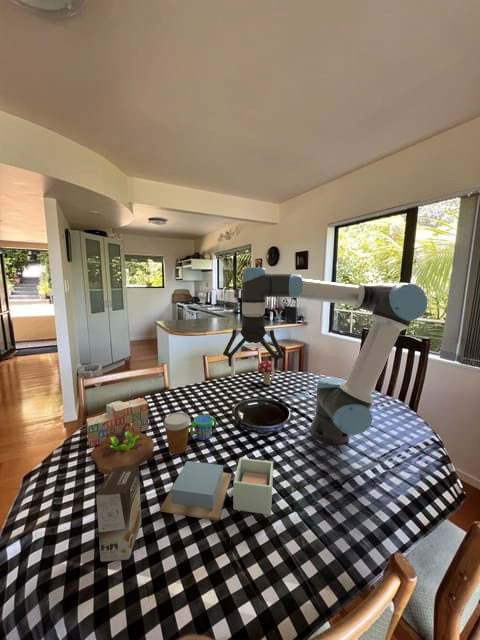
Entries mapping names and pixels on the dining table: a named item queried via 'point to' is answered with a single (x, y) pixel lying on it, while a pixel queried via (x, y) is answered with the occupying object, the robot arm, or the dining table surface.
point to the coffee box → (119, 513)
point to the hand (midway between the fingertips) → (252, 376)
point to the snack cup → (203, 426)
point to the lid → (197, 485)
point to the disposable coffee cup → (177, 432)
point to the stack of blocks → (118, 421)
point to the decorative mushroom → (266, 370)
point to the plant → (122, 450)
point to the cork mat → (197, 511)
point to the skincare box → (109, 406)
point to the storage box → (253, 486)
